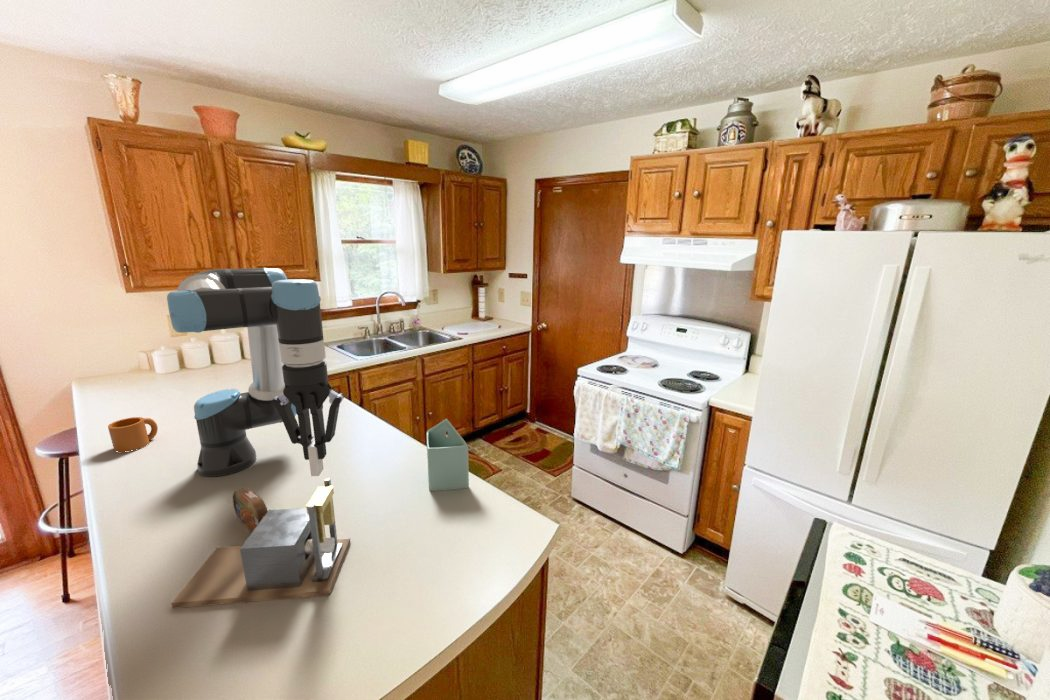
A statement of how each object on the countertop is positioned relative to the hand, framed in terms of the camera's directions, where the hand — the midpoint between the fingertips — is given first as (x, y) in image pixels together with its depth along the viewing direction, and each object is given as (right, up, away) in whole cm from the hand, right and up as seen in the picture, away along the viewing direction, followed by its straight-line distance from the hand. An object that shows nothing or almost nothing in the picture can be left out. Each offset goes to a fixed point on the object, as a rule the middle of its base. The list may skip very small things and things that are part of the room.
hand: (317, 472), depth 84 cm
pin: (-7, -20, +4) cm, 22 cm away
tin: (-26, -19, +19) cm, 38 cm away
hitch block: (-6, -22, +5) cm, 23 cm away
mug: (-90, -8, +57) cm, 107 cm away
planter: (+17, -15, +38) cm, 44 cm away
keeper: (0, -14, +4) cm, 14 cm away
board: (-12, -23, +4) cm, 26 cm away
